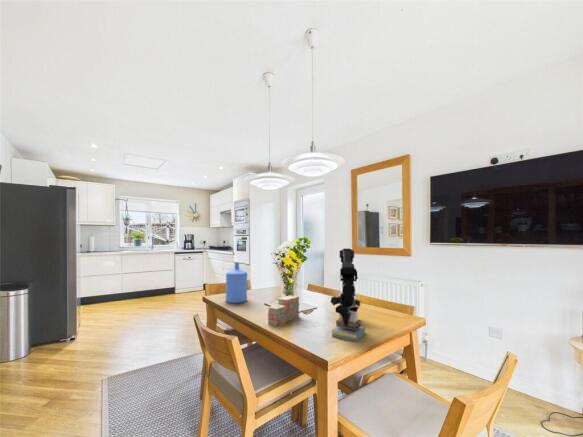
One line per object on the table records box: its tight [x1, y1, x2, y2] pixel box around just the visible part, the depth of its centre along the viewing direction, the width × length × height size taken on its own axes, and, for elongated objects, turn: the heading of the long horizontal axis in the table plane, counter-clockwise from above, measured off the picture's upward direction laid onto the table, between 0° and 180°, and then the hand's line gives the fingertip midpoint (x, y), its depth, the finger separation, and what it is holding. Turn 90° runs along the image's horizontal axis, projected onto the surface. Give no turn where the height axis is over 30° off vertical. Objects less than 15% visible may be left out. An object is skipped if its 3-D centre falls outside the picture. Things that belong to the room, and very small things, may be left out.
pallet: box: [335, 318, 362, 330], centre depth 131 cm, size 7×10×3 cm
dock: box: [331, 325, 366, 342], centre depth 130 cm, size 13×12×3 cm
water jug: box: [225, 262, 248, 304], centre depth 199 cm, size 16×16×28 cm
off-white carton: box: [349, 311, 359, 323], centre depth 130 cm, size 4×4×4 cm
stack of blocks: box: [267, 295, 300, 327], centre depth 153 cm, size 21×6×12 cm, turn 145°
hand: (348, 323), depth 131 cm, fingers closed on pallet, 7 cm apart
